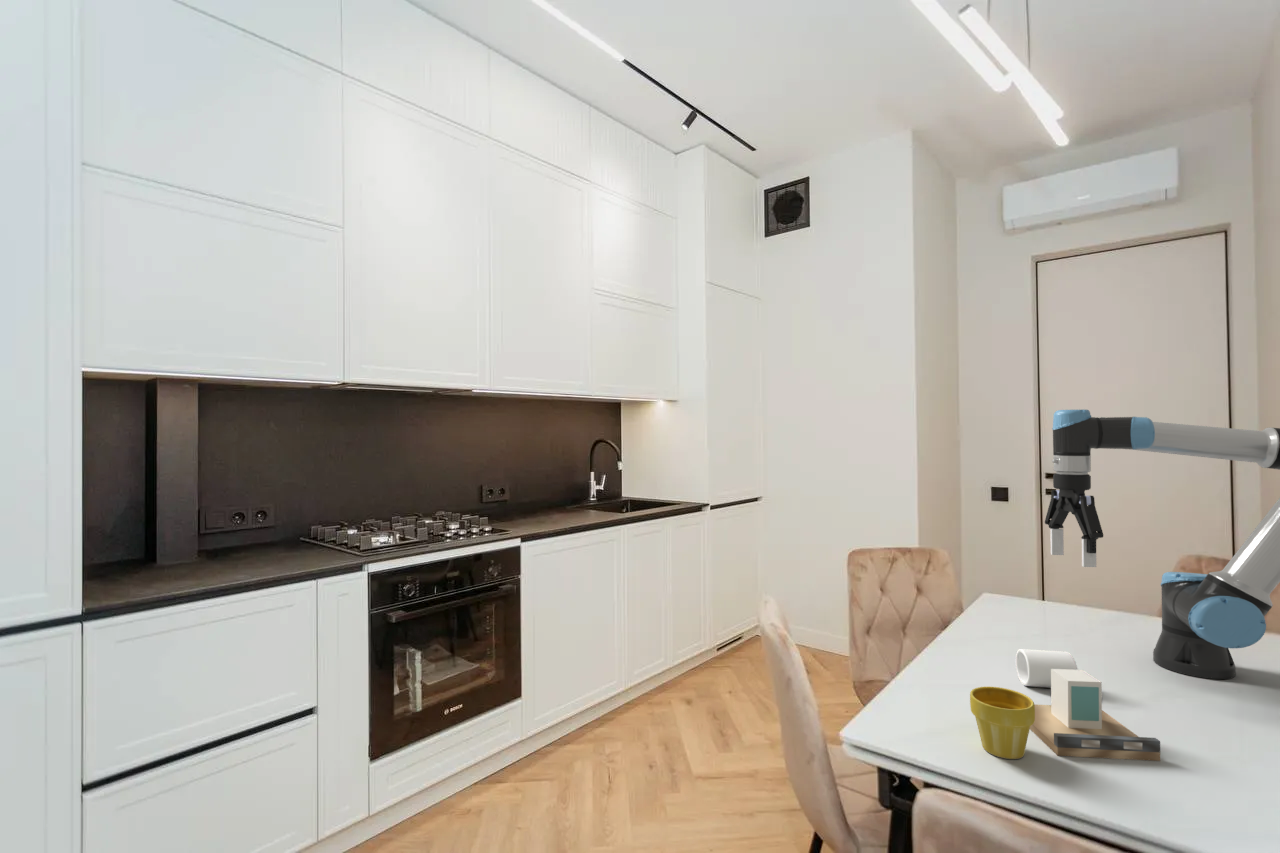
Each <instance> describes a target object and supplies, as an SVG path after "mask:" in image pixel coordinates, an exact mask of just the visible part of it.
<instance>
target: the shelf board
mask: <svg viewBox="0 0 1280 853" xmlns="http://www.w3.org/2000/svg"><path fill="white" fill-rule="evenodd" d="M1034 706H1035V721H1034V723H1033V724H1032V725H1031V726H1030V729H1029V731H1031V733H1033V734H1034V735H1035V736H1036V737H1037V738H1039V739H1040V741H1041V742H1043V743H1044V744H1045V745H1046V746H1047V747H1048V748H1049V749H1050V750H1051V751H1052V752H1053V754H1055V755H1056V756H1059V757H1074V758H1075V757H1076V758H1077V757H1078V758H1079V757H1081V758H1095V759H1096V758H1098V759H1118V760H1119V759H1120V760H1132V761H1133V760H1134V761H1135V760H1136V761H1154V762H1155V761H1156V762H1161V740H1159V739H1158V738H1157V737H1143V736H1138V735H1137V734H1135V733H1134V732H1133V731H1131V730H1130V729H1128V727H1126V726H1124V725H1123V724H1122V723H1120V722H1119V721H1118V720H1117V719H1115V718H1114V717H1112V716H1111V715H1110V714H1108V713H1107V712H1105V711H1104V710H1103V709H1102V729H1085V728H1068V727H1067V726H1066V725H1064V724H1063V723H1062V722H1061V721H1060V720H1059V719H1057V718H1056V717H1055V716H1054V715H1053V714H1051V704H1035V703H1034Z"/></svg>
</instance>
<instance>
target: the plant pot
mask: <svg viewBox="0 0 1280 853" xmlns="http://www.w3.org/2000/svg"><path fill="white" fill-rule="evenodd" d="M1034 704H1035V703H1034V701H1033V699H1032V698H1031V697H1029V696H1028V695H1027V694H1024V693H1021V692H1019V691H1016V690H1014V689H1009V688H1004V687H1000V686H999V687H997V686H979V687H975V688H973V689H972V690H970V692H969V705H970V711H971V714H972V715H973V716H974V717H975V721H976V725H977V729H978V733H979V736H980V741H981V745H982V748H983V749H984V750H985V751H986V752H987V753H988V754H990V755H992V756H995V757H997V758H1001V759H1007V760H1019V759H1021V758H1023V757H1024V756H1025V753H1026V748H1027V742H1028V739H1029V733H1030V726H1031V725H1032V724H1033V723H1034V721H1035V706H1034Z"/></svg>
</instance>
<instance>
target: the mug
mask: <svg viewBox="0 0 1280 853" xmlns="http://www.w3.org/2000/svg"><path fill="white" fill-rule="evenodd" d="M1051 669H1069V670H1079V668H1078V665H1077V662H1076V660H1075V658H1074V657H1073V655H1072V654H1071V653H1070V652H1069V651H1060V650H1043V649H1027V648H1019V649H1018V650H1017V651H1016V654H1015V670H1016V674H1017V677H1018V679H1019V681H1020V683H1021V684H1022V685H1023V686H1025V687H1032V688H1033V687H1034V688H1036V687H1037V688H1050V689H1051Z"/></svg>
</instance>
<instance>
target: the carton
mask: <svg viewBox="0 0 1280 853" xmlns="http://www.w3.org/2000/svg"><path fill="white" fill-rule="evenodd" d="M1102 685H1103V684H1102V681H1100V680H1099V679H1098V678H1096V677H1094V676H1093V675H1091V674H1089V673H1088V672H1087V671H1085V670H1084V669H1078V670H1069V669H1051V688H1050V694H1051V695H1050V696H1051V697H1050V702H1051V704H1050V705H1051V714H1053V715H1054V716H1055V717H1056V718H1057V719H1059V720H1060V721H1061V722H1062V723H1063V724H1064V725H1066V726H1067V727H1068V728H1085V729H1102V710H1103V706H1102V703H1103V700H1102V699H1103V697H1102V696H1103V695H1102V687H1103V686H1102Z"/></svg>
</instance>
